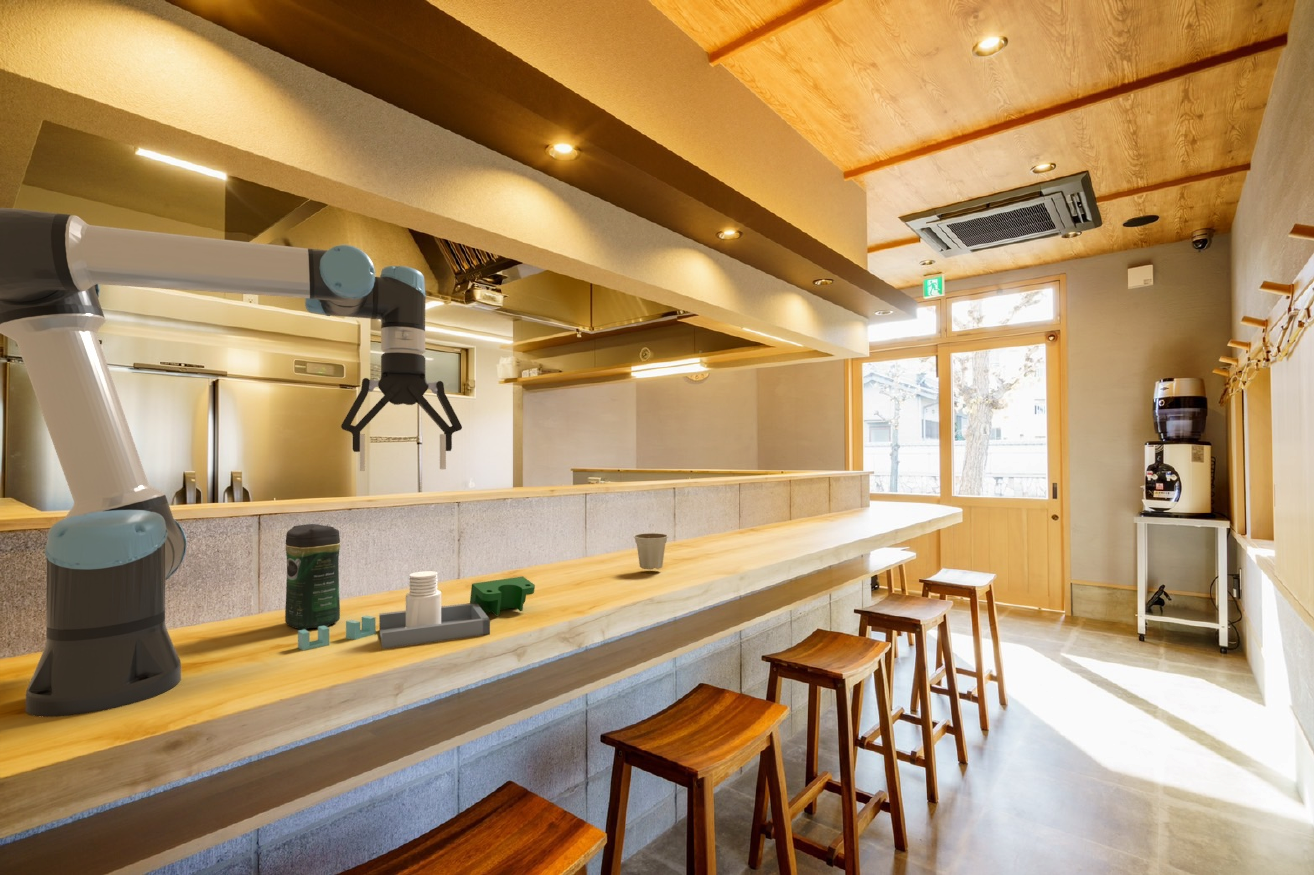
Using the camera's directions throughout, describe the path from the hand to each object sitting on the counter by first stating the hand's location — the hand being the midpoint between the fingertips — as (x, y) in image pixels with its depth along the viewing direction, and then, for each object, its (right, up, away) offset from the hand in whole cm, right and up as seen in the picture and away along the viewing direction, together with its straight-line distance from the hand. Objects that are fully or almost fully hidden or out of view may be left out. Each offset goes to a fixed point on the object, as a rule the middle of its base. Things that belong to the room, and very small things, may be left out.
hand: (403, 470), depth 111 cm
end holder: (+7, -29, -4) cm, 30 cm away
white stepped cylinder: (+5, -28, -4) cm, 29 cm away
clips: (-8, -29, -9) cm, 31 cm away
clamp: (+17, -30, +11) cm, 36 cm away
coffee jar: (-18, -29, +3) cm, 34 cm away
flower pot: (+45, -30, +54) cm, 76 cm away
